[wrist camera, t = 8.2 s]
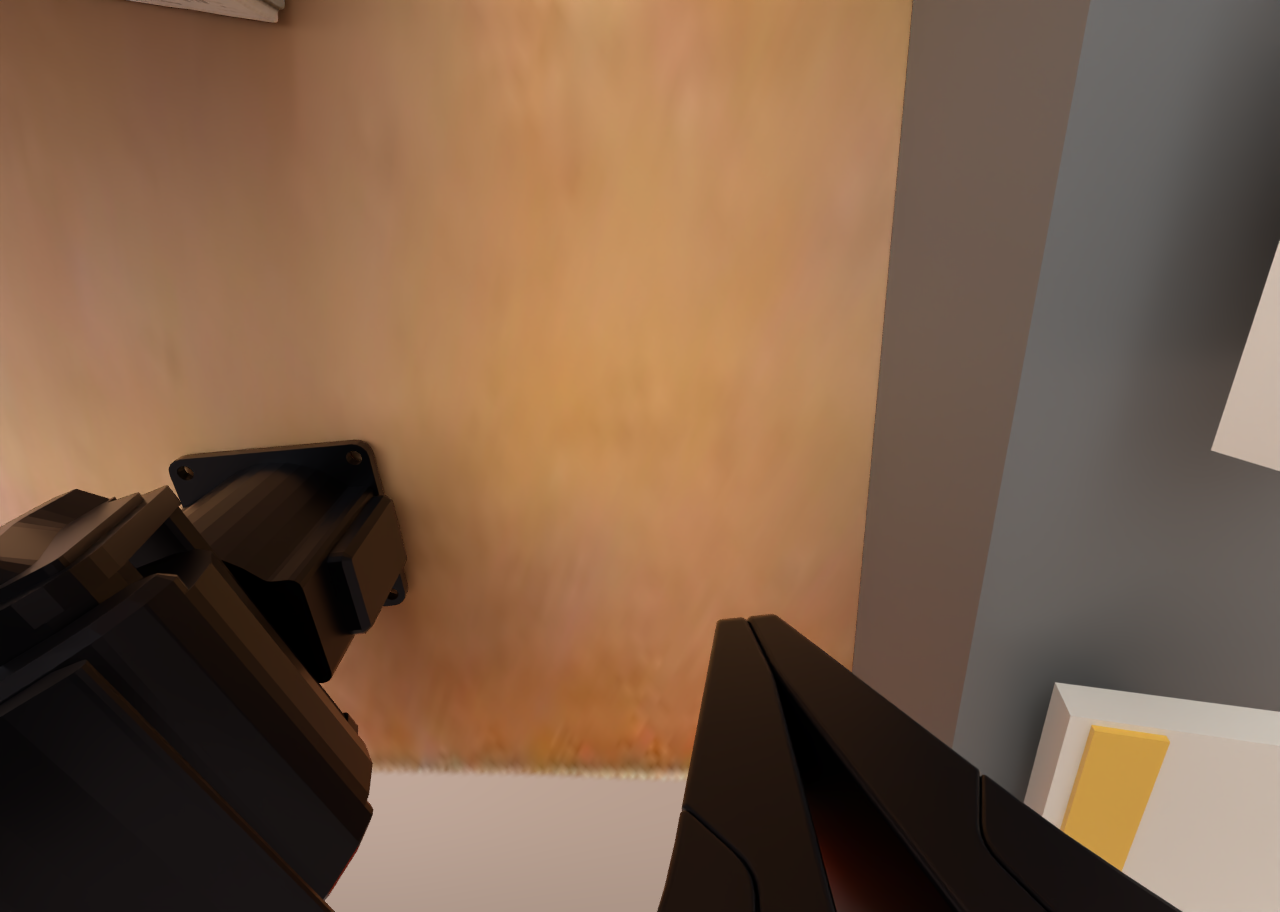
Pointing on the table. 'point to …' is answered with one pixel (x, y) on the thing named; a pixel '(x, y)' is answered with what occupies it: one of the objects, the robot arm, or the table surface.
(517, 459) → the table surface
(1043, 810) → the rocker amber
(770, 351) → the table surface
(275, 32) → the table surface
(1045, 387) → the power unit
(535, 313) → the table surface
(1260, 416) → the rocker grey
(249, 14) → the hard drive box
